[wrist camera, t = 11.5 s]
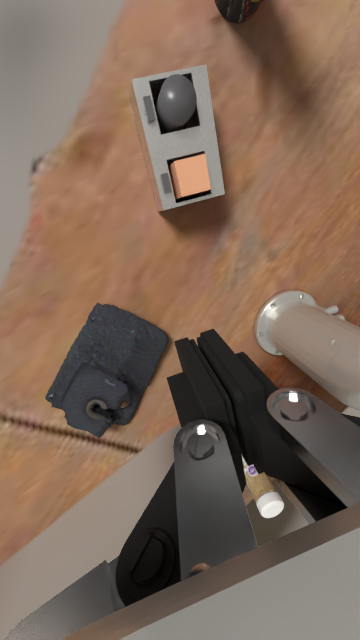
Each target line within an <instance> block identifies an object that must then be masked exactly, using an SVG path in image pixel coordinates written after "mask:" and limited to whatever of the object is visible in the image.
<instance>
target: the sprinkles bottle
mask: <svg viewBox="0 0 360 640" xmlns="http://www.w3.org/2000/svg"><path fill="white" fill-rule="evenodd" d="M241 455H242V454H241ZM242 460H243V465H244V473H245V478H246V483H247V485H248V487H249V489H250V490H251V493H252V494H253V497H254V499H255V501H256V504H257V507H258V509H259V511H260V513H261V515H262V516H263V517H265V518H271V517H274V516H276V515H278V514H279V513H280V512H281V511H282V510H283V508H284V503H283V501H282V499H281V497H280V496H279V494H278V493H277V491H275V489H274V487H273V485H272V483H271V482H270V480H269V478H268V476H267V475H266V474H265V472H263V473H261V474H258V472H257V471H256V469H255V467H254V465H250V466H248V465H247V463H246V462H245V460H244V458H243V456H242Z"/></svg>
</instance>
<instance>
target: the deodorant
mask: <svg viewBox="0 0 360 640" xmlns="http://www.w3.org/2000/svg"><path fill="white" fill-rule="evenodd" d="M262 1H263V0H215V3H216V6H217V7H218V9H219V11H220V13H221V14H222V15H223V16H224V17H225V18H226V19H227V20H229V21H231V22H233V23H242V22H245V21H247V20H248V19H250V18H251V17H252V15H253V14H254V13H255V12H256V10H257V8H258V7H259V5H260V4H261V2H262Z"/></svg>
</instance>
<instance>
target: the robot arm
mask: <svg viewBox="0 0 360 640" xmlns="http://www.w3.org/2000/svg"><path fill="white" fill-rule="evenodd" d="M336 312H338V307H337V306H336V305H333V306H330V307H327V308H322V307H320V306H318V305H317V303H316V301H315V300H314V298H312V297H311V296H310V295H309V294H307V293H305V292H302V291H299V290H289V291H284V292H281V293H279V294H277V295H275V296H274V297H272V298H271V299H270V300H269V301H268V302H267V303H266V304H265V305H264V306H263V307H262V309H261V310H260V312H259V314H258V316H257V319H256V322H255V329H254V330H255V337H256V340H257V342H258V344H259V345H260V346H261V347H262V348H263V349H264V350H265V351H266V352H268V353H270V354H273V355H284V356H285V357H287V358H288V359H289V360H290V361H291V362H293V363H294V364H295V365H296V366H297V367H299V368H300V369H301V370H302V371H303V372H305V373H306V374H307V375H308V376H309V377H311V378H312V379H313V380H314V381H315V382H317V383H318V384H319V385H320V386H322V387H323V388H324V389H325V390H326V391H328V392H329V393H330V394H331V395H332V396H334V397H335V398H336V399H337V400H339V401H340V402H341V403H343V404H345V405H347V406H349V407H352V408H354V409H357V410H360V327H358V326H356V325H353V324H351V323H349V322H347V321H345V319H344V317H343V316H342V315H341V314H338V315H335V316H333V315H331V314H334V313H336ZM200 336H201V337H198V338H197V343H198V346H197V344H196V343H195V341H194V339H192V340H189V339H188V338H184V339H180V340H177V341H175V346H176V349H177V353H178V356H179V360H180V363H181V367H182V370H183V372H182V373H179V374H176V375H173V376H170V377H167V381H168V384H169V387H170V391H171V394H172V397H173V401H174V404H175V407H176V411H177V414H178V417H179V421H180V424H181V427H182V428H181V429H180V430H179V431H178V433H177V434H176V436H175V439H174V444H173V452H174V463H173V465H172V466H171V468H170V470H169V471H168V473H167V475H166V476H165V478H164V480H163V481H162V483H161V484H160V486H159V488H158V489H157V491H156V493H155V495H154V496H153V498H152V499H151V501H150V503H149V504H148V506H147V508H146V509H145V511H144V513H143V514H142V516H141V518H140V519H139V521H138V523H137V524H136V526H135V528H134V529H133V531H132V532H131V534H130V536H129V537H128V539H127V541H126V542H125V544H124V546H123V548H122V550H121V553H120V555H119V556H118V557H116V558H115V559H114V560H112V561H111V562H110V563H107V562H106V560H105V561H103V562H102V563H100V564H99V565H98V566H96V567H95V568H93V569H92V570H91V571H89V572H88V573H86V574H85V575H84V576H82V577H81V578H79V579H78V580H77V581H75V582H74V583H72V584H71V585H70V586H68V587H67V588H66V589H64V590H63V591H62V592H60V593H59V594H57V595H56V596H54V597H53V598H52V599H50V600H49V601H47V602H46V603H45V604H43V605H42V606H40V607H39V608H38V609H36V610H35V611H33V612H32V613H31V614H29V615H28V616H26V617H25V618H24V619H22V620H21V621H20V622H19V623H18V624H17V625H16V626H15V627H14V628H13V629H12V630H11V631H10V632H9V633H8V635H7V636H6V637H5V639H4V640H360V418H359V417H355V416H350V415H345V414H341V413H339V412H337V411H336V410H335V409H333V408H332V407H330V406H329V405H327V404H326V403H325V402H323V401H322V400H320V399H319V398H317V397H316V396H315V395H313V394H311V393H309V392H308V391H306V390H302V389H299V388H282V389H280V390H279V389H278V388H277V387H276V386H275V385H274V384H273V383H272V382H271V380H270V379H269V378H268V377H267V376H266V375H265V374H264V373H263V372H262V371H261V370H260V369H259V368H258V367H257V366H256V364H255V363H254V362H253V361H252V360H251V359H250V358H249V357H248V356H247V355H246V354H245V353H244V352H240V353H237V354H235V353H234V352H233V351H232V350H231V349H230V347H229V346H228V345H227V344H226V343H225V342H224V340H223V339H222V338H221V337H220V336H219V335H218V333H217V332H216V331H215V330H214V329H211V330H208V331H205V332H202V333H200ZM241 454H242V455H241ZM242 456H243V458H244V460H245V462H246V463H247V465H248V466H250V465H254V467H255V469H256V471H257V472H258V474H261V473H263V472H265V474H266V475H268V476H271V477H273V478H276V481H277V483H278V484H279V486H280V488H281V489H282V490H283V492H284V493H285V494H286V495H287V497H288V498H289V499H290V501H291V502H292V503H293V504H294V506H295V507H296V508H297V509H298V510H299V512H300V513H301V515H302V516H303V517H304V518H305V520H306V521H307V522H308V523H309V525H307V526H305V527H303V528H301V529H298V530H296V531H294V532H291V533H289V534H287V535H285V536H283V537H280V538H278V539H276V540H273V541H271V542H269V543H266V544H264V545H262V546H260V547H258V546H257V543H256V539H255V536H254V533H253V529H252V526H251V523H250V519H249V516H248V512H247V509H246V505H245V502H244V498H243V495H242V494H243V491H244V488H245V485H246V478H245V473H244V465H243V460H242Z"/></svg>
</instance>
